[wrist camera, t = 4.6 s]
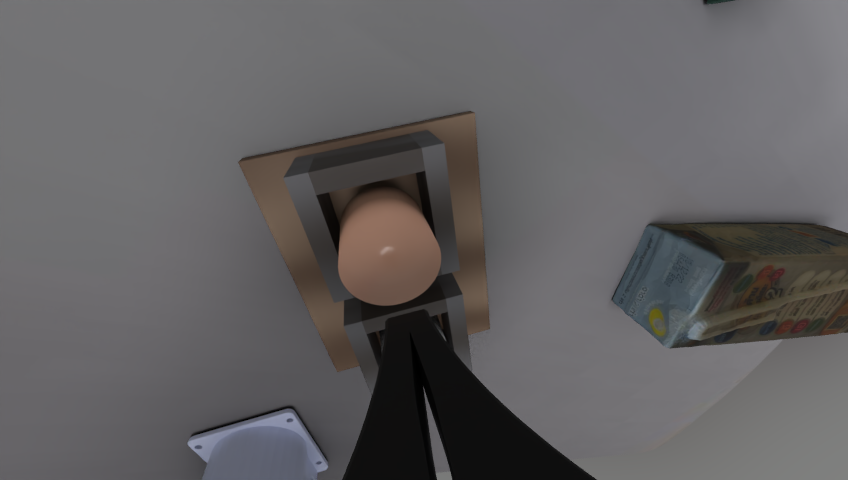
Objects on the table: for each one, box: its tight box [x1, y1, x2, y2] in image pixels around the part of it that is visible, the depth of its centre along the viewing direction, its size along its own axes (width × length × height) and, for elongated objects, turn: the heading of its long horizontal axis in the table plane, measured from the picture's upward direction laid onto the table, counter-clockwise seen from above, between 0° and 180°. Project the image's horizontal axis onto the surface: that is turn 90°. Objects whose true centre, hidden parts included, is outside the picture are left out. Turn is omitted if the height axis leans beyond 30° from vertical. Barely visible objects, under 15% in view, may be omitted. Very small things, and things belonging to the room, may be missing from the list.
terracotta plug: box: [338, 186, 441, 306], centre depth 14 cm, size 4×4×4 cm
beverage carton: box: [613, 224, 848, 348], centre depth 25 cm, size 8×19×7 cm, turn 84°
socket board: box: [238, 111, 490, 395], centre depth 19 cm, size 16×12×4 cm
